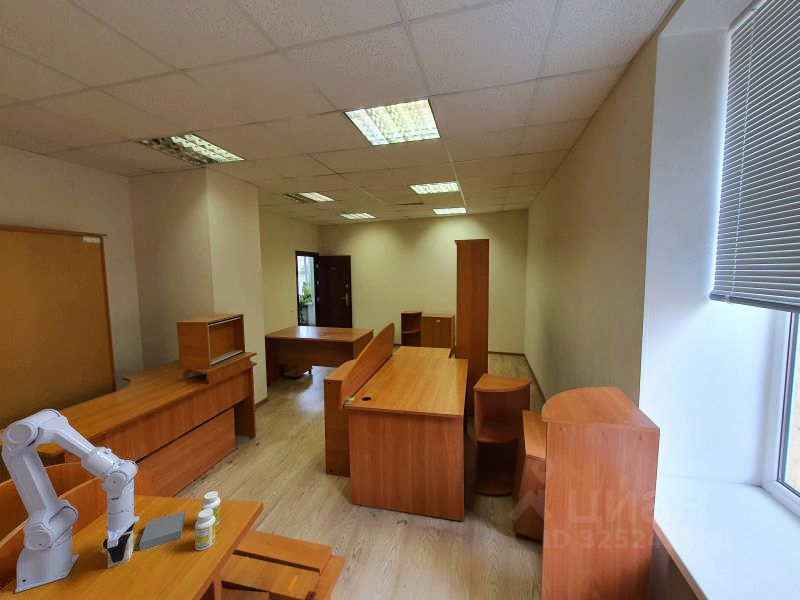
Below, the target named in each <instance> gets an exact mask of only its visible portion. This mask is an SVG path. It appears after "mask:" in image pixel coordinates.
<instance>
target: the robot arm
mask: <svg viewBox="0 0 800 600" xmlns="http://www.w3.org/2000/svg"><path fill="white" fill-rule="evenodd" d="M0 439H1V442H2V448H1V452H0V453H1V458H2V461H3V462H4V465H5V467H6V470H7V471H8V473H9V476H10V478H11V479H12V482H13V484H14V487H15V488H16V490H17V493H18V494H19V497H20V499H21V501H22V503H23V506H24V507H25V510H26V512H27V514H28V517H27V519H26V521H25V524H24V526H23V528H22V531H23V533H24V538H23V546H24V548H23V549H22V550H21V552H20V554H19V556H18V559H17V562H16V589H15V591H14V592H15V593H19V592H23V591H26V590H29V589H33V588H37V587H39V586H42V585H46V584H49V583H52V582H55V581H58V580H62V579H65V578H67V577H68V575H69V573H70V572H71V570H72V569H73V566H75V563H76V562H77V560H78V558H79V556H80V555H79V554H75V555H73V524H75V523H76V521H77V520H78V517H79V512H78V509H76V508H75V507H74V506H73V505H71V504H70V502H69V500H68V499H60V498H59V497H58V494H57V493H56V491H55V489H54V486H53V484H52V481H51V480H50V478H49V475H48V473H47V471H46V469H45V465H44V464H43V462H42V460H41V457H40V456H39V453H38V451H37V448H38V447H39V446H40V445H43V444H44V445H46V444H55V445H58V446H60V448H62V449H64V450H66V451H68V452H69V453H71V454H73V455H75V456H76V457H78V458H80V459H81V463H80V464H81V467H83V468H84V469H85V470H87V471H88V472H89V473H91V474H92V475H94V476H95V477H97V478H98V479H100V480H101V481H103V482H101V488H102V490H104V491H105V492H106V505H107V506H106V507H107V508H106V514H107V516H106V517H107V519H106V523H107V526H106V527H105V528H106V535H107V538H105V539H104V540H103V542H102V548H104V549H105V550H107V553H108V552H109V554H110V556H111V559H112V561H113V563H115V562H118V561H122V560H123V558H124V554H125V548H126V544H127V541H128V539H129V537H130V535H131V533H130V534H126V535H123V533H126V532H129V531H134V530H133V529H134V527H135V524H136V523H138V522H139V520H140V516H135V479H134V478H135V476H136V475H137V473H138V470H139V467H138V465H137V464H136V463H135V461H133V460H131V459H130V460H129V459H125V460H124V459H123V458H122V459H121V458H119V456H117V455H116V454H114V453H113V452H112V451H113V450H112V449H111V448H109V447H108V448H106V447H105V446H99V447H98V446H96V447H95V446H94V445H93V444H92V443H91V442H90V441H89V440H87V439H86V438H85V437H84V436H82V435H81V434H80V433H79V432H78V431H77V430H76V429H75V428H74V427H72V426H71V425H70V424H69V420H68V418H67V416H64V415H62V414H61V413H60V412H59V411H58V410H56V409H53V408H45V409H42V410H40V411H37V412H36V413H34V414H32V415H30V416H29V415H28V416H27V417H25V418H23V419H20V420H16V421H15V422H12V423H10V424H8V426H7V427H6V428H5V429H4V430H3V432H2V433H1V434H0Z"/></svg>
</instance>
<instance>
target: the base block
mask: <svg viewBox="0 0 800 600" xmlns="http://www.w3.org/2000/svg"><path fill="white" fill-rule="evenodd" d="M185 519H186V511H185V510H184V511H180V512H177V513H172V514H169V515H164V516H162V517H158V518H154V519H153V518H152V519H150V520H148V521H147V523H146V525H145V528H144V530H143V533H142V535H141V538H140V542H139V552H142V551H145V550H149V549H152V548H155V547H159V546H161V545H165V544H168V543H171V542H174V541H177V540H180V539H182V534H183V529H184V526H185V525H184V524H185V521H184V520H185ZM141 550H142V551H141Z"/></svg>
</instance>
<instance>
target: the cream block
mask: <svg viewBox="0 0 800 600" xmlns="http://www.w3.org/2000/svg"><path fill="white" fill-rule="evenodd" d="M130 533H131V535H130V537H129V539H128V541H127V544H126V548H125V554H124V558H123V560H122V561H118V562H115V563H113V561H112V559H111V556H110V554H109V552H108V551H107V568H108V569H110V568H113V567H117V566H119V565H122V564H126V563H128V562H130V561H131V558H132V555H133V553H132V552H134V530H132V531H129V532H126V533H123V535H126V534H130Z"/></svg>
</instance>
